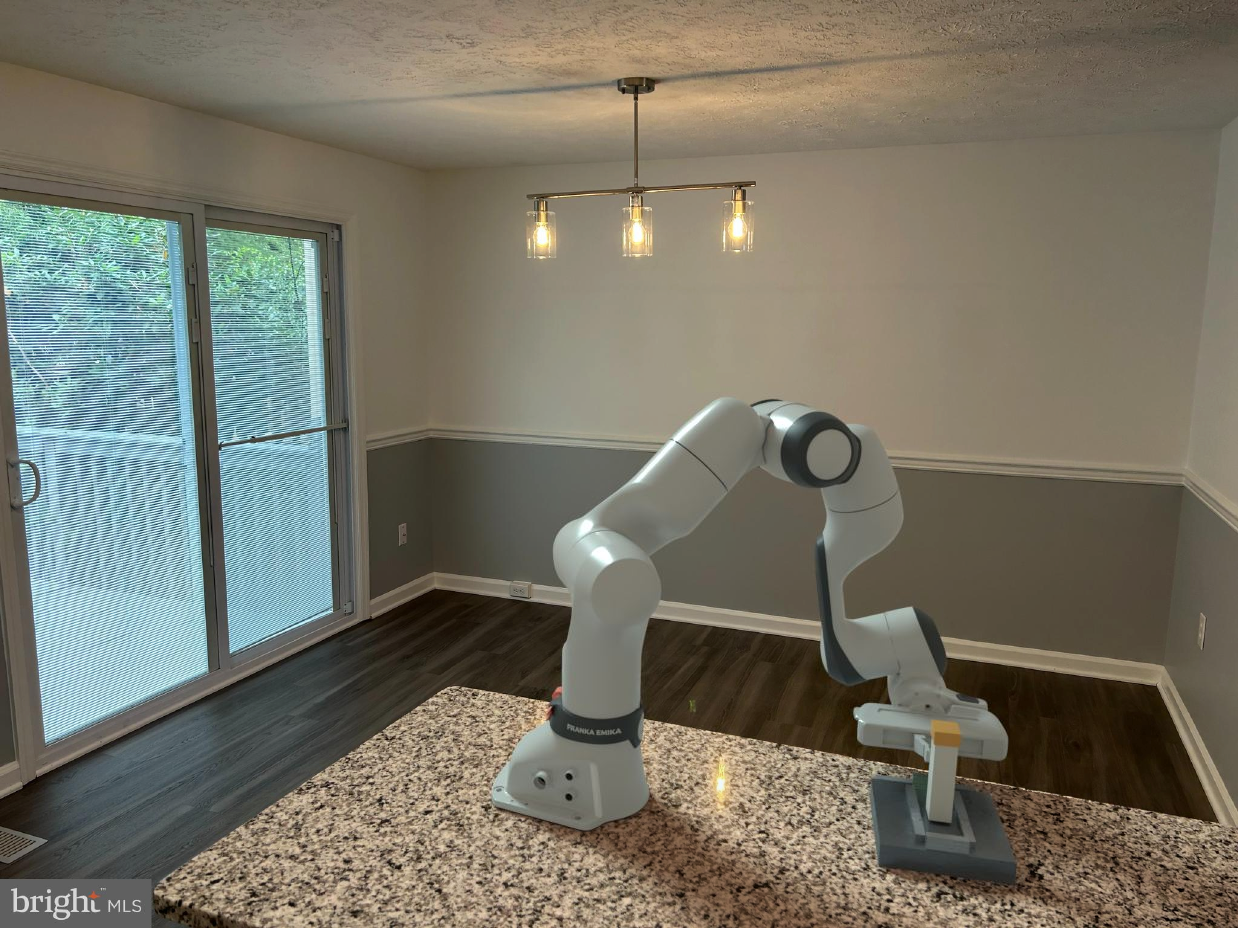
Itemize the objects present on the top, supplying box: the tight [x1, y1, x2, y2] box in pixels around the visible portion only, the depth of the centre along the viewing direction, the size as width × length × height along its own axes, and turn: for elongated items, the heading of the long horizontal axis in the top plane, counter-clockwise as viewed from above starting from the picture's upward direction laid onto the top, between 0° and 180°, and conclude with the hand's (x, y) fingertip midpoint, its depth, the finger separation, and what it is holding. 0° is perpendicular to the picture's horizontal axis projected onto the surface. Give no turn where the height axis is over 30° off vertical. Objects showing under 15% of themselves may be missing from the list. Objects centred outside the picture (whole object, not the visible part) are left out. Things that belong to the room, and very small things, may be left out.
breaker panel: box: [869, 772, 1018, 886], centre depth 115 cm, size 16×16×5 cm
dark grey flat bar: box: [874, 774, 978, 791], centre depth 125 cm, size 14×4×1 cm, turn 78°
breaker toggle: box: [926, 720, 961, 823], centre depth 113 cm, size 3×3×12 cm
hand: (937, 758), depth 117 cm, fingers closed
